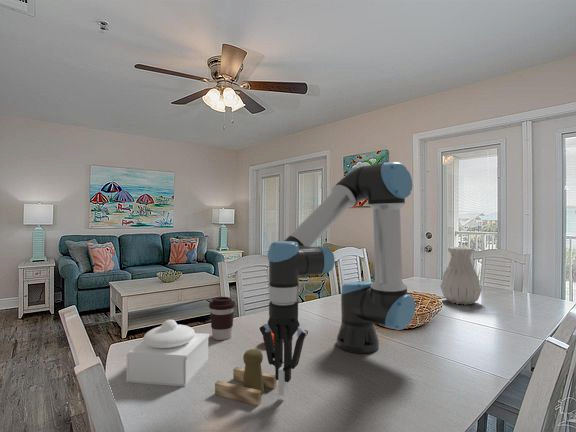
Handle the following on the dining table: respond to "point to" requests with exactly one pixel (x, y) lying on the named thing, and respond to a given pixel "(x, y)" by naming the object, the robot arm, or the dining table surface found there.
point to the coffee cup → (222, 317)
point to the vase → (460, 278)
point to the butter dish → (168, 355)
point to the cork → (253, 370)
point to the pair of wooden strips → (243, 388)
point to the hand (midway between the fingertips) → (283, 392)
